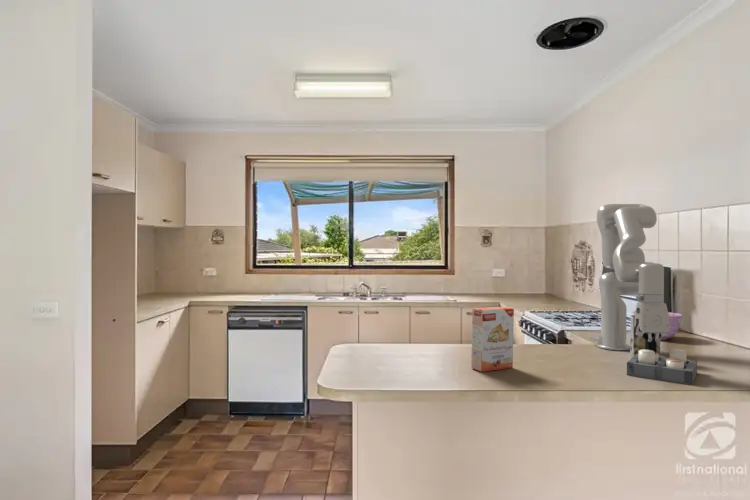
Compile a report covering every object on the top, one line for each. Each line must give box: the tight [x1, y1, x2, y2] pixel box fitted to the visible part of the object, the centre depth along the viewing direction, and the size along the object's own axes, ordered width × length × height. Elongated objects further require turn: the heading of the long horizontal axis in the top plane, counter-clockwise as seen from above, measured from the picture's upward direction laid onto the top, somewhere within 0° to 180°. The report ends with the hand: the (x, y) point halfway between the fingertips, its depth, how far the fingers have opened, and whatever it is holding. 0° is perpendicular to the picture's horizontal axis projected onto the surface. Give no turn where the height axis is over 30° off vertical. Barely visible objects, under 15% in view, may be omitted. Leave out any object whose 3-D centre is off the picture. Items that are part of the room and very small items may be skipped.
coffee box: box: [629, 314, 662, 359], centre depth 181 cm, size 9×6×16 cm
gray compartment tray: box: [626, 354, 698, 385], centre depth 160 cm, size 18×18×4 cm
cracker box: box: [471, 306, 515, 373], centre depth 166 cm, size 14×6×21 cm, turn 117°
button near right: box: [666, 359, 684, 369], centre depth 154 cm, size 5×5×5 cm
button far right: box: [669, 348, 687, 364], centre depth 161 cm, size 5×5×5 cm
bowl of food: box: [632, 310, 683, 341], centre depth 224 cm, size 20×20×12 cm
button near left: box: [638, 349, 655, 365], centre depth 159 cm, size 5×5×5 cm
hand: (650, 352), depth 165 cm, fingers closed
